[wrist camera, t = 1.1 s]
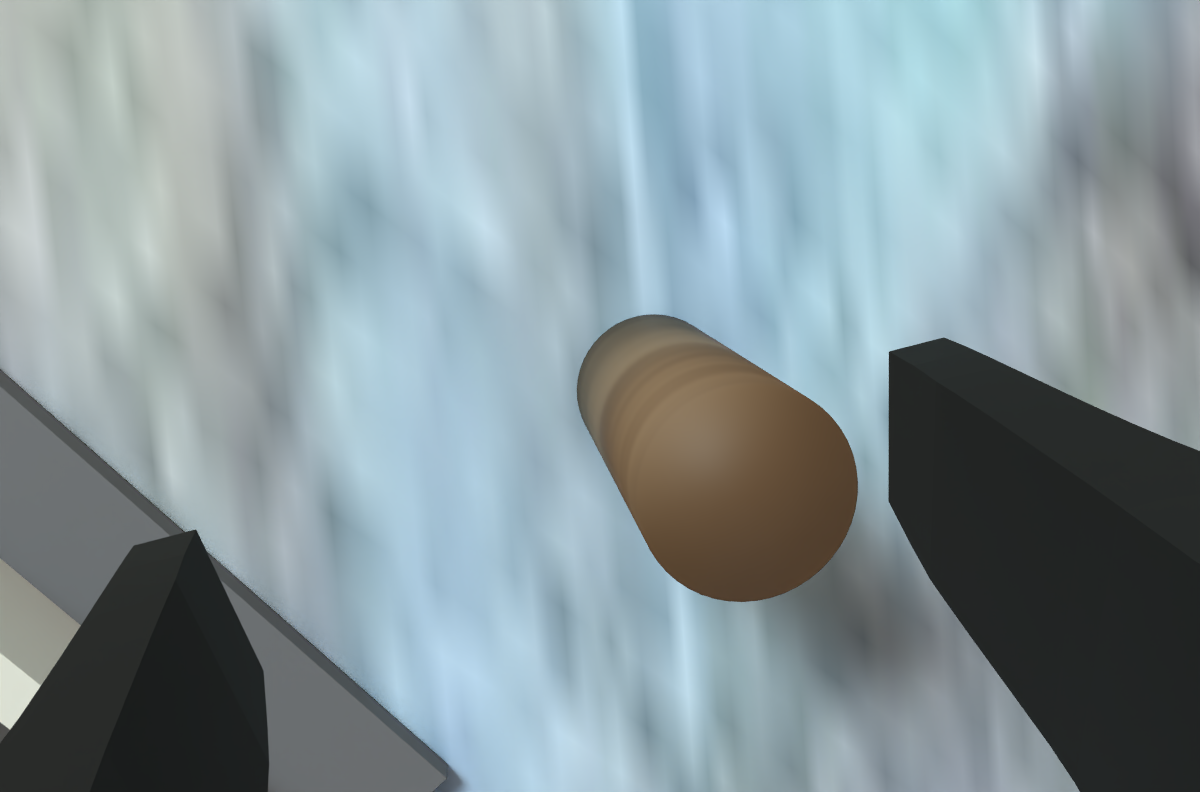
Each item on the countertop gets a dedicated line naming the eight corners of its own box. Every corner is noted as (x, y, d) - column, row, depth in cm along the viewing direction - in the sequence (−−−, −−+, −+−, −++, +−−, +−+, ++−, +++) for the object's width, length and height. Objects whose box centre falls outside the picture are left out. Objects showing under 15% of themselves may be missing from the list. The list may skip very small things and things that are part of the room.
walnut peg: (755, 390, 24) (901, 495, 16) (647, 492, 24) (739, 644, 16) (656, 282, 23) (759, 336, 15) (545, 388, 23) (589, 495, 15)
